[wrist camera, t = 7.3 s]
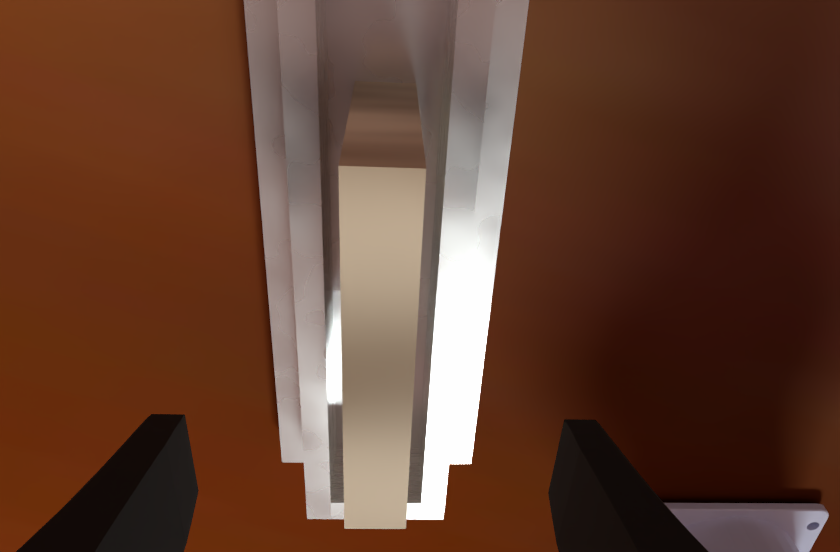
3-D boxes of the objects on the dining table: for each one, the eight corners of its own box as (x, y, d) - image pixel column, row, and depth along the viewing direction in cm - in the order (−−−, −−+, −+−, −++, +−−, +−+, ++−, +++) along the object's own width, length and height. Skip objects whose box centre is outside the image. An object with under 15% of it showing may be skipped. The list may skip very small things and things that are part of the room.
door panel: (402, 379, 22) (405, 528, 17) (355, 378, 22) (344, 528, 17) (416, 83, 17) (426, 168, 12) (354, 80, 17) (338, 165, 12)
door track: (468, 444, 25) (478, 519, 22) (285, 442, 25) (271, 518, 22) (531, -87, 16) (563, -81, 13) (243, -103, 16) (208, -101, 13)
